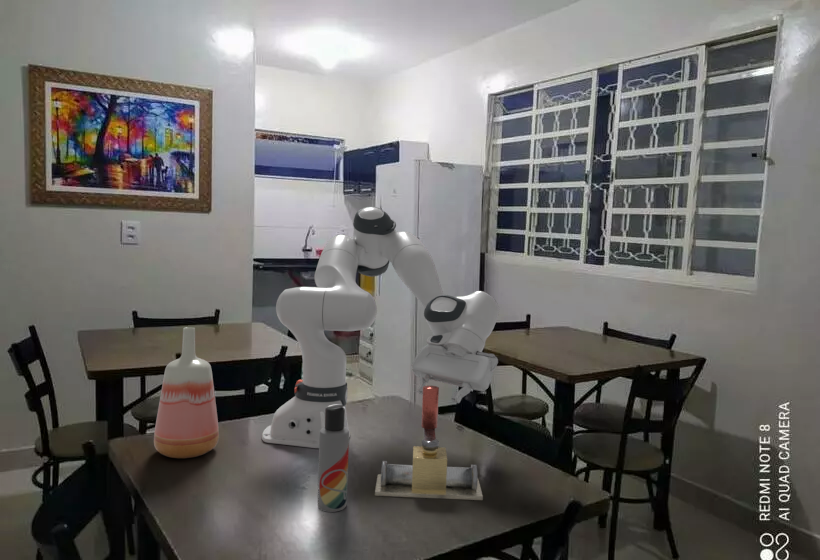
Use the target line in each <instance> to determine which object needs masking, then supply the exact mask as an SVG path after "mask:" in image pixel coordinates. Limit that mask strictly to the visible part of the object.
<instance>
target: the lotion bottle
mask: <svg viewBox="0 0 820 560" xmlns="http://www.w3.org/2000/svg"><path fill="white" fill-rule="evenodd" d="M344 423H345V408H344V407H343V405H331V406H328V407H327V408H325V427H324V428H322V429H321V430H320V436H319V448H318V472H317V473H318V476H317V507H318V509H320V510H321V511H323V512H329V513H334V512H336V513H337V512H340V511H344V509H345V508H346V507H347V505H348V503H347V502H348V481H349V474H348V473H349V446H350V445H349V444H350V437H349V432H350V429H349V430H348V429H347V428H345V427H344Z"/></svg>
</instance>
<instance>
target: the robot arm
mask: <svg viewBox="0 0 820 560" xmlns="http://www.w3.org/2000/svg"><path fill="white" fill-rule="evenodd" d="M352 227H353V235H352V237H350V236H349V235H346V234H337V235H334V236H332V237H331V238H330V239H329V240H328V241H327V243H326V244H325V246H324V248H323V249H322V250H321V254H320V256H319V260H318V262H317V266H316V270H315V272H314V283H315V285H316V286H298V287H291V288H286V289H284V290H283V291H282V292H281V293H280V294H279V296H278V297H277V300H276V303H275V304H276V305H275V312H276V315H277V318H278V320H279V322H280V323H281V324H282V325H283V326H284V327H285V328H287V329H288V330H289V331H290V333H291V334H292V335H293V336H294V338H295V339H296V341H297V343H298V345H299V348H300V352H301V358H302V379H298V380H296V383H295V385H294V396H293V397H292V398H291V399H288V401H286V402H285V403H284V404H282V405H281V406H279V408H278V409H276V411H275V412H274V414H273V417H272V421H271V424H270V425H267V426H266V428H265V429H263V432H262V435H261V436H262V437H261V439H262V441H263V442H264V443H268V444H277V445H287V446H293V447H294V446H295V447H303V448H311V449H319V436H320V430H321V429H322V428H324V427H325V408H327V407H328V406H331V405H343V407H344V408H345V423H344V427H345V428H347V429H348V430H349V438H350V437H351V433H350V429H349V424H348V418H347V417H348V416H347V403H348V392H349V391H348V383H347V379H346V378H347V354H346V353H345V351H344V349H342V348H341V347H340V346H339V345H337V344H335V343H333V342H332V341H330V340H329V339H328V338H327V336H326V335H325V331H336V332H337V331H338V332H355V331H356V332H357V331H363V330H367V329H370V327H371V326H372V325H373V324H374V322H375V320H376V317H377V314H378V313H377V312H378V310H377V309H378V308H377V303H376V300H375V298H374V297H373V295H372V294H371V293H370V292H369V291H366V290H365V289H363V288H362V287H360V286H359V285H358V284H357V282H356V279H357V273H359V274H361V275H362V276H367V277H369V278H370V277H371V278H372V277H378V276H381V275H383V274H384V273H386V271H388V269H389V264H390V263H391V266H392V267H393V269H394V270H395V271H394V272H395V273H396V274H397V276H398V277H399V279H400V280H401V281H402V283H403V284H404V285H405V286H406V287H407V289H409V291H410V292H411V293H412V295H413V296H414V297H415V298H416V299H417V301H419V303H420V304H421V306H422V307H423V308H424V311H423V316H424V319H425V321H426V324H427V326H428V327H429V329H430V331H431V334H432V335H430V336H428V337H427V339H426V343H427V344H426V345H423V346H422V347H421V348H420V349H419V351H418V353H417V354H416V355H415V357H414V359H413V361H412V362H411V371H412V372H413V374H414V375H415V377H417V378H419V385H418V388H417V392H418V394H420V395H423V387H424V386H427V384H428V383H429V381H433V382H438V383H442V384H448V385H452V386H456V387H460V389H459V390H458V391H457V392H456V391H454V392H453V393H452V396H451V401H452V402H453V403H456V404H460V403H461V401H462V400H463V398H464V397H465V396H467V395H468V394H470V393H471V390H474V391H479V392H484V391H486V390H487V389H488V388H489V387H490V385H491V381H492V379H493V374H494V370H496V368H497V366H498V363H499V359H498V357H497V356H496V355H495V354H494V353H487V352H483V350H484V348H485V347H486V341H487V339H488V338H489V337H490V335H491V334H492V332H493V330H494V328H495V325H496V323H497V320H498V318H499V315H500V307H499V304H498V302H497V300H496V299H495V298H494V297H493V296H492V295H491V294H490V293H487V292H485V291H482V290H475V291H474V292H471V293H470V294H467V295H462V296H452V295H448V294H444V291H443V289H442V285H441V281H440V279H439V275H438V272H437V268H436V265H435V262H434V259H433V257H432V256H431V253H430V251H429V250H428V248H427V247H426V245H425V244H424V243H423V242H422V241H421V240H420V239H419V237H417V236H416V235H414V233H411V232H410V231H405V230H403V231H398V230H396V227H397V223H396V221H395V220H394V219H391V217H390V215H389V213H387V212H385V211H384V209H382V208H380V207H378V206H367V207H365V206H364V207H363V208H361V209H359V210H357V212H356V213H355V214H354V217H353V223H352ZM426 383H427V384H426Z"/></svg>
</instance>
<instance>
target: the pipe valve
mask: <svg viewBox="0 0 820 560" xmlns="http://www.w3.org/2000/svg"><path fill="white" fill-rule="evenodd" d="M446 448H447V447H443V446H442V447H440V446H439V448H438V449H435V450H428V449H424V448H422V446H420V445H419V446H417V445H416V446H415V445H413V447H412V464H393V463H388V461H387V460H382V461H381V467H380V468H381V469H380V472H381V473H380V474H377V476H376V477H377V478H376V483H375V489H374V496H377V497H400V498H401V497H402V498H419V499H420V498H422V499H423V498H424V499H425V498H427V499H447V500H466V501H468V500H470V501H471V500H472V501H473V500H474V501H483V500H484V495H483V492H482V488H481V484H480V481H479V478H478V477H479V476H478V466H477V464H470V467H464V466H463V467H462V466H448V454H447V449H446Z"/></svg>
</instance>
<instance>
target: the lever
mask: <svg viewBox="0 0 820 560" xmlns="http://www.w3.org/2000/svg"><path fill="white" fill-rule="evenodd" d="M439 391H440V387H439V386H436V385H426V386H424V387H423V394H422V400H421V401H422V403H421V405H422V406H421V425H420V427H421V428H422V429H423V439H421V447H422V448H424V449H428V450H435V449H438V448H439V447H440V446H439V444H440V441H439V439H436V438H437V437H436V429H437V428H438V421H439V419H438V416H439V395H440V393H439Z"/></svg>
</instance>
